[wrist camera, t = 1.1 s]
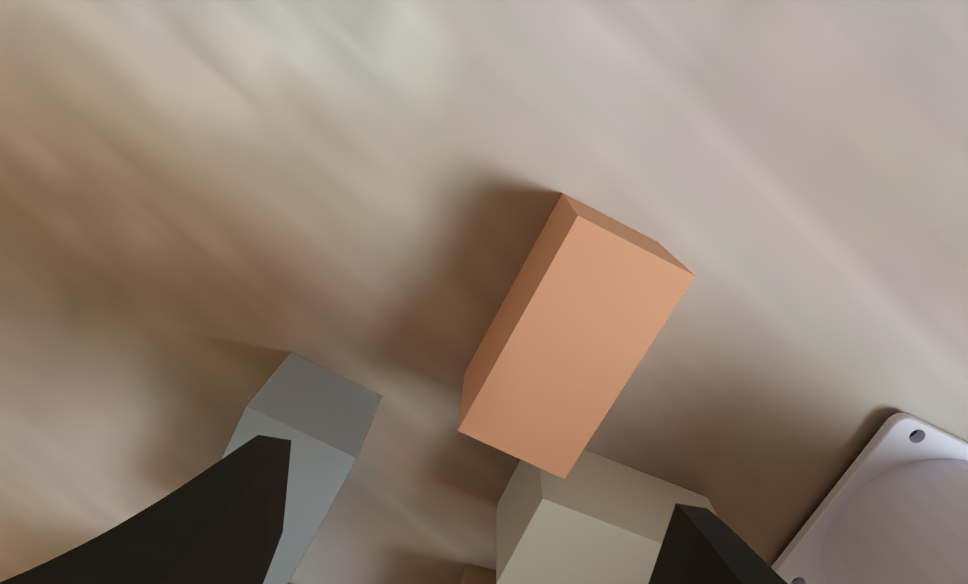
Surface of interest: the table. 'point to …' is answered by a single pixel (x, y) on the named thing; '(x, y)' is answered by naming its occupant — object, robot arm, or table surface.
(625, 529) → the grey brick
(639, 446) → the table surface
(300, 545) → the slate brick
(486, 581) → the walnut brick
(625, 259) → the terracotta brick
